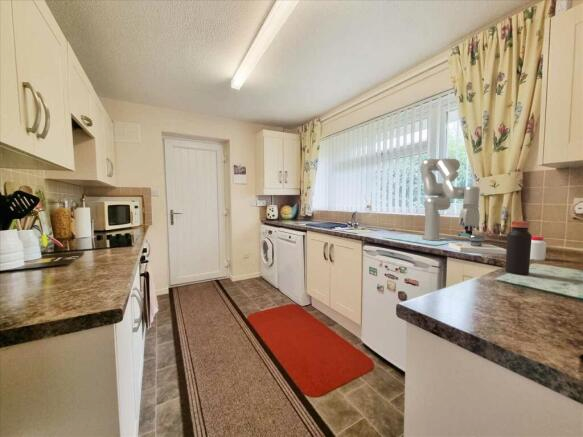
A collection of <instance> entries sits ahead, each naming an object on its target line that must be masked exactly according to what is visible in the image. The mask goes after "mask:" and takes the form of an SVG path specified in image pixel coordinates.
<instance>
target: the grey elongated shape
mask: <svg viewBox="0 0 583 437" xmlns="http://www.w3.org/2000/svg"><path fill="white" fill-rule="evenodd" d="M457 233H458V237H464V238H467V239H468V241H470V243H471V245H472V246H482V244H483V242H485V241H486V235H483V234H475V233H472V234H468V233H466V232H463V231H458V232H457Z"/></svg>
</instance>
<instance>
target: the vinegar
mask: <svg viewBox="0 0 583 437" xmlns="http://www.w3.org/2000/svg"><path fill="white" fill-rule="evenodd" d="M511 228H512V229H511V231H509V232H508V233H507V237H506V248H505V249H506V254H505V265H504V271H505V272H506V273H508V274H512V275H519V276H528V275H529V274H530V262H531V259H530V253H531V240H532V236H533V235H532V234H531V233H530V232H529V231H528V230H529V228H530V221H524V220H523V221H522V220H511Z"/></svg>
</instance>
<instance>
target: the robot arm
mask: <svg viewBox="0 0 583 437" xmlns="http://www.w3.org/2000/svg"><path fill="white" fill-rule="evenodd" d="M460 166H461V162H460V161H459V160H458V159H456V158H441V159H439V158H427V159H424V160H423V161H422V162H421V164H420V168H419V170H420V175H421V178H422V182H423V189H424V194H425V195H426V196H429V197H428V198H425V199H424V203H423V205H424V212H425V213H424V217H425V218H424V234H423V235H424V236H422V238H421V239H422V240H425V241H442V238H441V237H440V228H441V226H440V225H441V224H440V223H441V214H440V212H439V211H445V210H448V209H449V208H450V207H451V200H455V199H456V200H463V201H462V202H463V203H462V209H461V211H460V214H459V219H458V224H459V225H460V228H463V229H464V231H465V233H468V234H473V231H475V230H474V229H476V228H478V227H479V225H480V210H479V208H480V205H479V203H480V191H481V190H480V187H479V186H454V185H453V183H452V181H454V180H456V179H458V176H459V173H458V170H459V169H460ZM435 171H437V172H439V173H440V175H441V177H442V178H443V181H442V183H440V182H439V183H438V182H437V177H436V175H435V173H433V172H435Z"/></svg>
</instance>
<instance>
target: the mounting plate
mask: <svg viewBox="0 0 583 437" xmlns="http://www.w3.org/2000/svg"><path fill="white" fill-rule="evenodd" d="M448 248H451V249H453V250H455V251H458V252H460V253H473V254H474V253H475V254H491V255H492V254H493V255H506V249H507V248H503V247H500V246H496V245H492V244H488V243H487V244H486V243H484V244H483V243H482V246H472V245H471V242H467V243H464V242H463V243H462V242H448Z"/></svg>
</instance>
